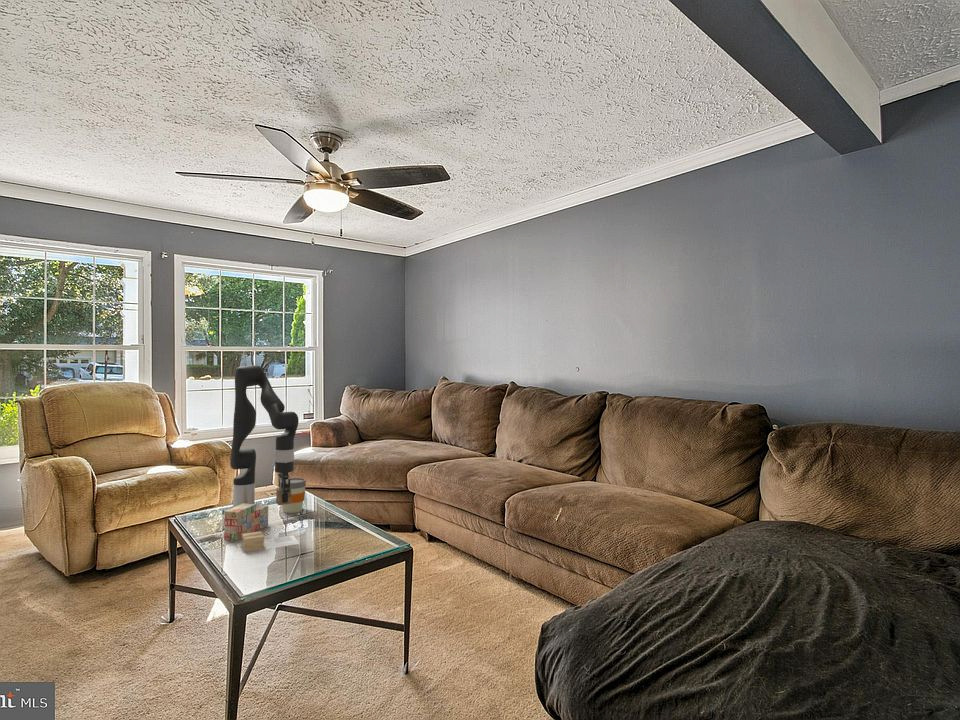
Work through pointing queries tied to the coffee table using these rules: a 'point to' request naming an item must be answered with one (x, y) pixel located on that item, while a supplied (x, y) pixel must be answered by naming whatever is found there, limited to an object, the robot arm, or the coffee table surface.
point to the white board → (274, 543)
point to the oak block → (252, 541)
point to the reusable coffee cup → (296, 495)
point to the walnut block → (279, 496)
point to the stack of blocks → (244, 520)
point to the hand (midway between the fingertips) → (283, 500)
